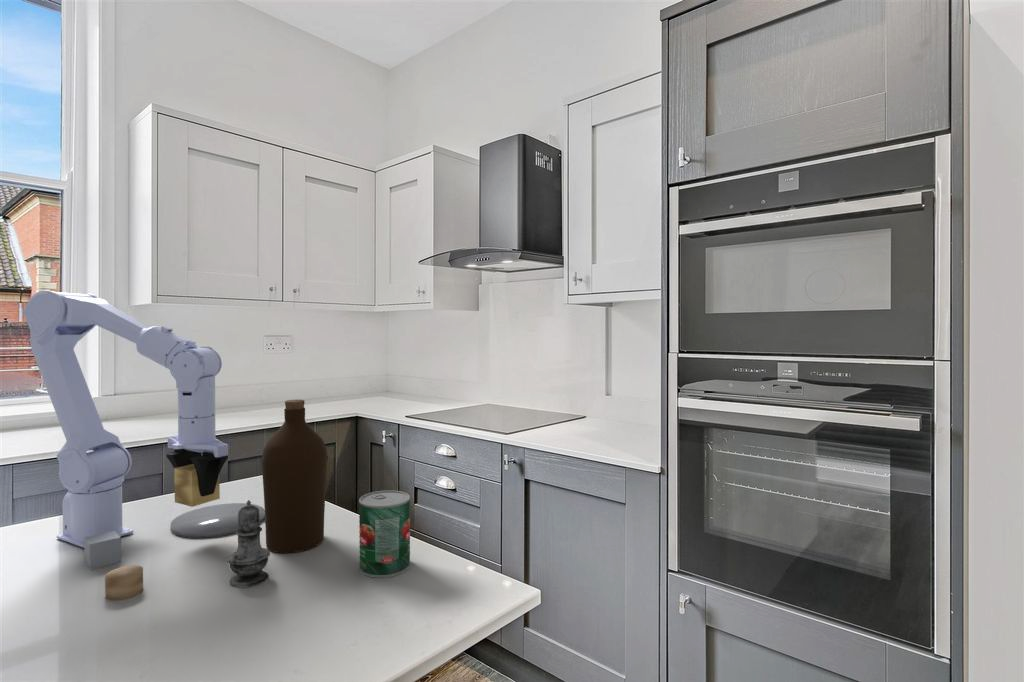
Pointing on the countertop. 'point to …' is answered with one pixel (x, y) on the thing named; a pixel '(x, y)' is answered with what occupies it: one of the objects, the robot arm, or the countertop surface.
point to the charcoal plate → (210, 521)
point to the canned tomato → (384, 533)
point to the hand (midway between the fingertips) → (197, 492)
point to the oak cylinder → (123, 582)
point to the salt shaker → (248, 550)
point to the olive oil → (294, 484)
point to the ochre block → (191, 487)
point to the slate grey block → (102, 549)
